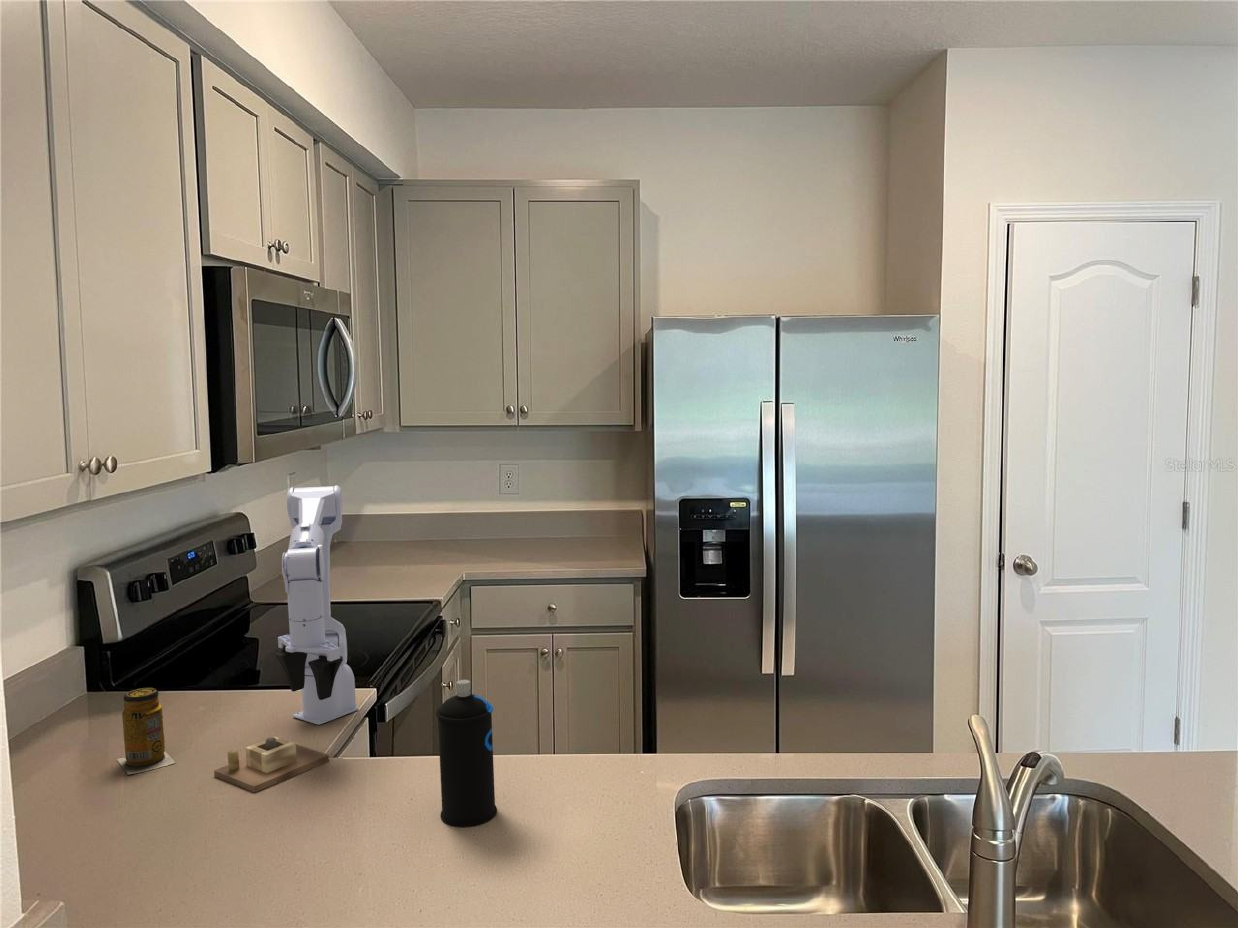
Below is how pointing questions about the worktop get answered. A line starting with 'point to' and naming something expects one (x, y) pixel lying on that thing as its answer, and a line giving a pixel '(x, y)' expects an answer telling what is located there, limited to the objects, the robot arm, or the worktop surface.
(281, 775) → the post board
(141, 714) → the condiment
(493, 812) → the aerosol can
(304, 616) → the robot arm
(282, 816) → the worktop surface
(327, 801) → the worktop surface
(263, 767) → the ring
